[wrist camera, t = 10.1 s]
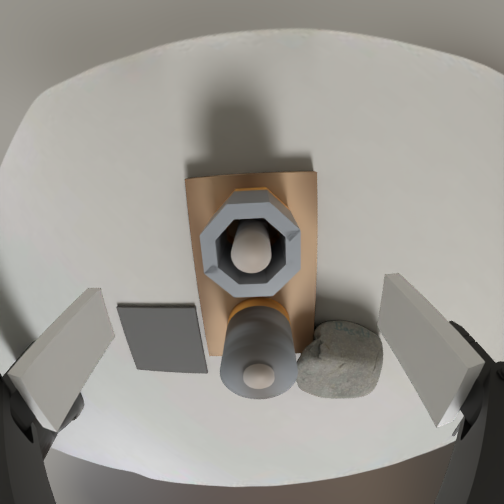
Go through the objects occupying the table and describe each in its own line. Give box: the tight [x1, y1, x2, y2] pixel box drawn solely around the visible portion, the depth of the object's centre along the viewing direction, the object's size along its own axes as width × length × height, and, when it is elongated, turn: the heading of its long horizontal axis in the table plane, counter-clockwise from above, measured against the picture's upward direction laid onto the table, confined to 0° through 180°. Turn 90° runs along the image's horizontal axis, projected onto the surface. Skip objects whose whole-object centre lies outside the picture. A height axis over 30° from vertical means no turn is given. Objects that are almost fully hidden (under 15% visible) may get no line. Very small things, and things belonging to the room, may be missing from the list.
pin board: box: [185, 171, 317, 399], centre depth 25 cm, size 12×20×10 cm, turn 3°
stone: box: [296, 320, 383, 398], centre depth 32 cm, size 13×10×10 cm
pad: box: [117, 306, 208, 373], centre depth 33 cm, size 10×10×1 cm
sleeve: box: [200, 187, 301, 297], centre depth 23 cm, size 7×7×8 cm
